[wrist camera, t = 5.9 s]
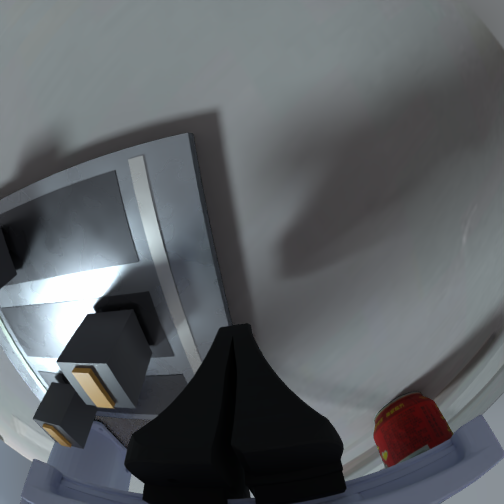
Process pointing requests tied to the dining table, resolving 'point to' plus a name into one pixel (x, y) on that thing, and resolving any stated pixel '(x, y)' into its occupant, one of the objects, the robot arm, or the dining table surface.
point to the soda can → (409, 428)
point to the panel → (114, 266)
